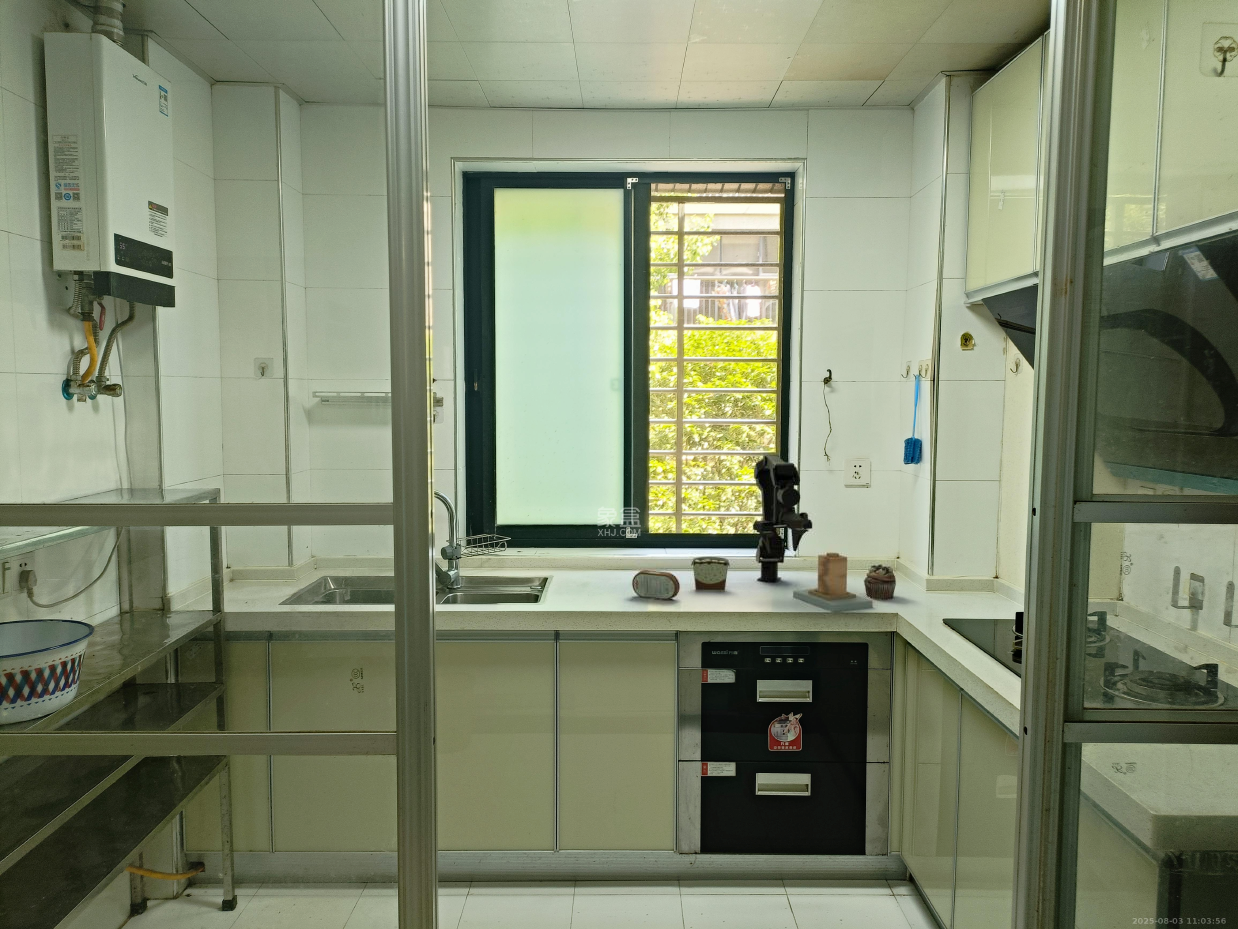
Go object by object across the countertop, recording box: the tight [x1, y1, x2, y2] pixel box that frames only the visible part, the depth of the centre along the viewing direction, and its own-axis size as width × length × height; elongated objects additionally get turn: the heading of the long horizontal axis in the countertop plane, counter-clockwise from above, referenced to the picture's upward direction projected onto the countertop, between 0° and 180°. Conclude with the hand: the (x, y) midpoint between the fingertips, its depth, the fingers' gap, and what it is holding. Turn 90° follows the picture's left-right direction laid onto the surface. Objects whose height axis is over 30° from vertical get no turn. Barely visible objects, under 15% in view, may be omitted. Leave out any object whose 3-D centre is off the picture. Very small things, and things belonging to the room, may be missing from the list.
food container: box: [690, 556, 731, 592], centre depth 268 cm, size 12×6×10 cm, turn 84°
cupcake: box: [863, 563, 897, 601], centre depth 257 cm, size 10×10×10 cm
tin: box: [631, 569, 681, 601], centre depth 254 cm, size 15×3×8 cm, turn 65°
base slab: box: [792, 587, 874, 613], centre depth 250 cm, size 20×14×3 cm
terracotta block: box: [817, 552, 848, 596], centre depth 249 cm, size 6×6×13 cm
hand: (782, 552), depth 261 cm, fingers open, 9 cm apart
